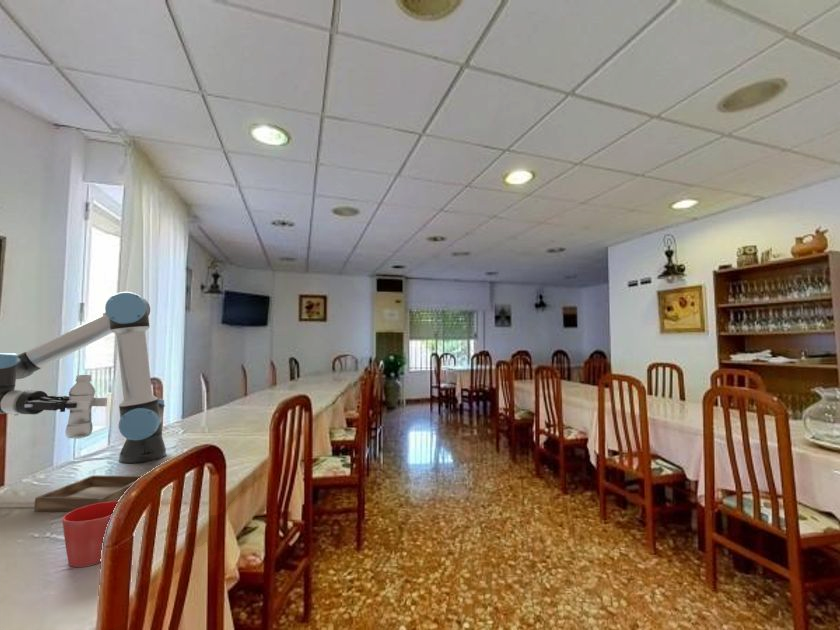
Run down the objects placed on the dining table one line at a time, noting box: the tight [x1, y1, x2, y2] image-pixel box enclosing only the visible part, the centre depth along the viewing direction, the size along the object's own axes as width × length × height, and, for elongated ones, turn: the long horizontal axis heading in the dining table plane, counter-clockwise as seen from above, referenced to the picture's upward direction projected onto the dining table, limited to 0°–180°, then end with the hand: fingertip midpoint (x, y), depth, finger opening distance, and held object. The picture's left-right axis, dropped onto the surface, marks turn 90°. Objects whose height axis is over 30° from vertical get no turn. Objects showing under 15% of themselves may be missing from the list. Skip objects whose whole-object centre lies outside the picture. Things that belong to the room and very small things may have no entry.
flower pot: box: [61, 501, 118, 568], centre depth 81 cm, size 11×11×10 cm
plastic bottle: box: [65, 374, 96, 440], centre depth 122 cm, size 6×7×20 cm
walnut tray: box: [33, 474, 142, 513], centre depth 111 cm, size 18×18×4 cm
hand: (97, 403), depth 122 cm, fingers closed on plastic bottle, 6 cm apart
